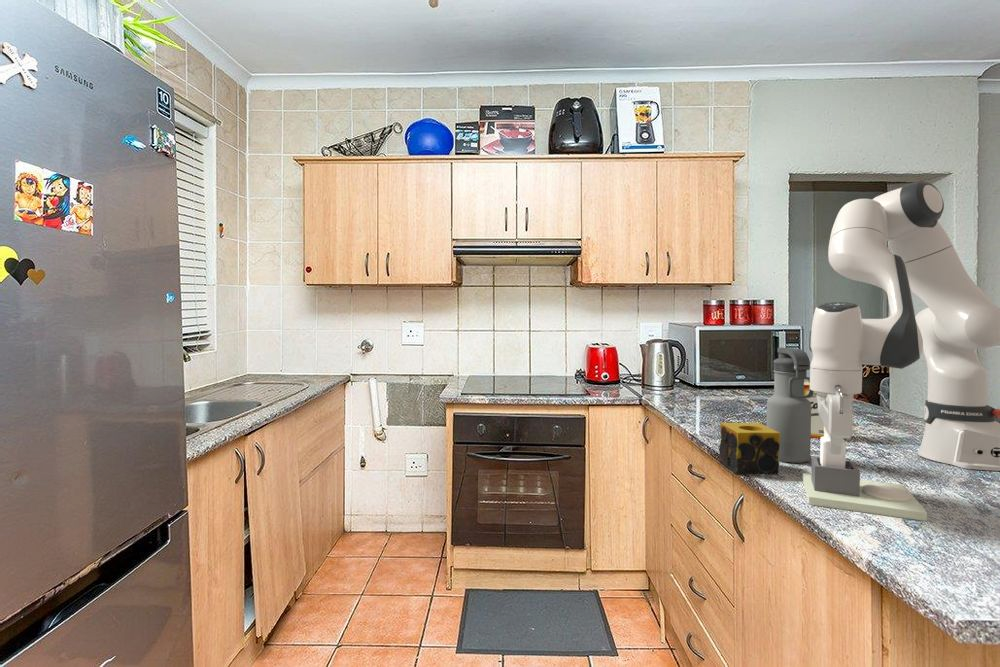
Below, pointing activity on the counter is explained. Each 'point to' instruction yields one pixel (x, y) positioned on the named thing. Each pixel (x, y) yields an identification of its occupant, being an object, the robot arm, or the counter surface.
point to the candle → (749, 448)
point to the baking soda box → (814, 414)
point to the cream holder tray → (858, 492)
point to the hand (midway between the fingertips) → (833, 450)
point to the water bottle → (791, 405)
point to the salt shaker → (827, 456)
